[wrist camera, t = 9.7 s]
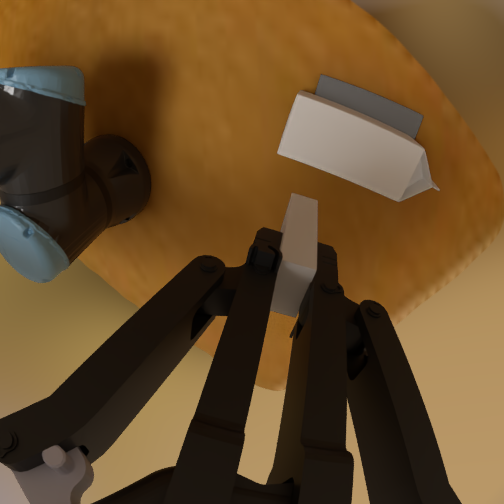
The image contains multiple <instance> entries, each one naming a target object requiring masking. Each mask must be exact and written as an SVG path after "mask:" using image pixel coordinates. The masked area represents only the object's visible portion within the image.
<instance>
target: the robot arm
mask: <svg viewBox="0 0 504 504" xmlns="http://www.w3.org/2000/svg"><path fill="white" fill-rule="evenodd" d="M85 106H86V102H85V100H84V75H83V73H82V71H81V70H80V69H79V68H77V67H75V66H29V67H12V68H0V201H1V204H0V253H1V254H2V255H3V257H4V258H5V260H6V261H7V262H8V263H9V264H10V265H11V266H12V267H13V268H14V269H15V270H16V271H17V272H19V273H20V274H21V275H23V276H24V277H26V278H27V279H29V280H32V281H34V282H38V283H46V282H49V281H51V280H53V279H54V278H55V277H56V276H57V275H58V274H60V273H61V272H62V271H63V270H65V269H67V268H68V267H69V265H70V264H71V263H72V262H73V261H74V260H75V259H76V258H77V257H78V256H79V255H80V254H81V253H82V252H83V251H84V250H85V249H86V248H87V247H88V246H89V245H90V244H91V243H92V242H93V241H94V240H95V239H96V238H97V237H98V236H99V235H100V234H101V233H102V232H103V231H104V230H105V229H107V228H110V227H113V226H116V225H119V224H122V223H125V222H128V221H129V220H131V219H133V218H134V217H135V216H136V215H137V214H138V213H139V212H140V211H141V210H142V209H143V208H144V207H145V205H146V204H147V202H148V199H149V196H150V190H151V179H150V174H149V170H148V167H147V164H146V162H145V160H144V158H143V157H142V155H141V154H140V152H139V151H138V150H137V149H136V148H135V147H134V146H133V145H132V144H131V143H130V142H128V141H127V140H125V139H123V138H121V137H119V136H115V135H101V136H98V137H96V138H94V139H91V140H89V141H87V142H86V143H85V144H84V110H85ZM317 230H318V200H315V199H311V198H308V197H305V196H301V195H298V194H295V193H292V194H291V198H290V201H289V204H288V208H287V211H286V214H285V217H284V221H283V224H282V227H281V230H280V232H278V231H275V230H271V229H268V228H265V227H263V228H261V229H260V230H259V231H257V234H256V237H255V240H254V243H253V244H252V245H251V246H250V248H249V252H248V256H247V260H246V263H245V264H244V265H242V266H240V267H225V264H224V263H223V262H222V261H221V260H220V259H218V258H217V257H214V256H209V255H203V256H198V257H197V258H195V259H194V260H192V261H191V262H190V263H189V264H188V265H187V266H186V267H185V268H184V269H182V270H181V271H180V272H179V273H178V274H177V275H176V276H175V277H174V278H173V279H172V280H170V281H169V282H168V283H167V284H166V285H165V286H164V287H163V288H162V289H161V290H160V291H158V292H157V293H156V294H155V295H154V296H153V297H152V298H151V299H150V300H149V301H148V302H147V303H146V304H144V305H143V306H142V307H141V308H140V309H139V310H138V311H137V312H136V313H135V314H134V315H133V316H132V317H131V318H130V319H128V321H126V322H125V323H124V324H123V325H122V326H121V327H120V328H119V329H118V330H117V331H116V332H115V333H114V334H113V335H112V336H111V337H110V338H109V339H107V340H106V341H105V342H104V343H103V344H102V345H101V346H100V347H99V348H98V349H97V350H96V351H95V352H94V353H93V354H92V355H91V356H90V357H89V358H88V359H87V360H86V361H85V362H84V363H83V364H82V365H81V366H80V367H79V368H78V369H77V370H76V371H75V372H74V373H73V374H72V375H71V376H70V377H69V378H68V379H67V380H66V381H65V382H64V383H63V384H62V385H61V386H60V387H59V388H58V389H57V390H56V391H55V392H54V393H53V394H52V395H51V396H49V397H47V398H45V399H43V400H41V401H39V402H36V403H34V404H32V405H30V406H28V407H26V408H23V409H21V410H19V411H17V412H15V413H12V414H10V415H8V416H6V417H4V418H1V419H0V462H1V463H3V464H4V465H5V466H7V467H8V468H10V469H11V470H12V471H13V473H14V475H15V477H16V479H17V481H18V483H19V484H20V486H21V488H22V490H23V492H24V494H25V496H26V497H27V499H28V501H29V502H30V504H80V500H81V497H82V494H83V493H84V492H85V491H86V490H87V489H88V487H90V486H91V484H92V482H93V478H94V472H93V468H92V466H91V463H93V462H94V461H96V460H97V459H98V458H99V457H101V456H102V455H103V454H104V453H105V452H106V451H107V450H108V449H109V448H110V447H111V446H112V444H113V443H114V442H115V441H116V440H117V438H118V437H119V436H120V435H121V434H122V432H123V431H124V430H125V429H126V427H127V426H128V425H129V424H130V423H131V421H132V420H133V419H134V418H135V417H136V415H137V414H138V413H139V412H140V410H141V409H142V408H143V407H144V406H145V404H146V403H147V402H148V401H149V399H150V398H151V397H152V396H153V395H154V393H155V392H156V391H157V389H158V388H159V387H160V386H161V385H162V383H163V382H164V381H165V379H166V378H167V377H168V376H169V375H170V373H171V372H172V371H173V370H174V368H175V367H176V366H177V365H178V364H179V362H180V361H181V360H182V358H183V357H184V356H185V355H186V354H187V352H188V351H189V350H190V349H191V347H192V346H193V345H194V344H195V342H196V341H197V340H198V339H199V337H200V336H201V335H202V334H203V332H204V331H205V330H206V329H207V327H208V326H209V325H210V324H211V322H212V321H213V320H214V319H215V316H228V317H227V320H226V323H225V326H224V329H223V332H222V335H221V337H220V340H219V343H218V346H217V349H216V352H215V355H214V358H213V361H212V364H211V367H210V370H209V373H208V376H207V379H206V382H205V385H204V388H203V391H202V394H201V397H200V400H199V403H198V406H197V409H196V412H195V415H194V417H193V419H192V420H191V423H190V426H189V428H188V431H187V434H186V437H185V440H184V443H183V446H182V449H181V452H180V455H179V458H178V460H177V463H176V466H173V467H168V468H164V469H161V470H158V471H155V472H153V473H151V474H149V475H148V476H146V477H144V478H142V479H140V480H138V481H136V482H135V483H133V484H131V485H129V486H127V487H125V488H123V489H121V490H119V491H117V492H115V493H113V494H111V495H109V496H107V497H105V498H103V499H101V500H98V501H96V502H94V503H92V504H351V501H352V487H353V470H354V459H353V456H352V454H351V453H350V452H349V451H347V450H346V419H347V417H346V416H347V400H348V403H349V408H350V412H351V416H352V420H353V425H354V429H355V434H356V438H357V443H358V447H359V452H360V456H361V461H362V466H363V471H364V476H365V481H366V486H367V490H368V496H369V501H370V504H462V503H461V502H460V500H459V499H458V497H457V495H456V494H455V492H454V491H453V489H452V488H451V486H450V484H449V482H448V478H447V475H446V471H445V467H444V464H443V460H442V457H441V454H440V450H439V447H438V444H437V441H436V438H435V434H434V431H433V428H432V425H431V422H430V419H429V416H428V414H427V411H426V408H425V405H424V402H423V399H422V397H421V394H420V391H419V389H418V386H417V384H416V381H415V378H414V375H413V373H412V370H411V368H410V365H409V363H408V360H407V358H406V355H405V353H404V350H403V348H402V346H401V343H400V341H399V339H398V337H397V334H396V331H395V329H394V327H393V324H392V322H391V320H390V318H389V315H388V313H387V311H386V310H385V308H384V307H383V306H382V305H380V304H379V303H377V302H375V301H372V300H364V301H362V302H361V303H360V305H359V304H357V303H355V302H353V301H351V300H349V299H348V298H347V297H345V296H344V290H343V288H342V286H341V285H340V284H339V283H338V268H337V253H336V252H335V250H334V249H333V247H332V246H329V245H325V244H322V243H319V242H317ZM270 311H274V312H277V313H281V314H284V315H288V316H292V317H296V316H297V314H298V311H299V317H298V319H297V322H296V324H295V326H294V328H293V330H292V332H291V334H290V338H292V336H293V342H292V350H291V357H290V364H289V372H288V379H287V385H286V393H285V399H284V405H283V412H282V418H281V424H280V430H279V436H278V442H277V448H276V453H275V459H274V464H273V468H272V470H271V473H270V475H269V477H268V480H267V483H266V485H262V484H259V483H256V482H254V481H252V480H250V479H248V478H245V477H243V476H241V475H239V474H237V470H238V466H239V462H240V457H241V453H242V449H243V444H244V439H245V433H244V428H245V424H246V420H247V416H248V411H249V407H250V402H251V398H252V393H253V389H254V384H255V380H256V375H257V370H258V366H259V361H260V356H261V352H262V347H263V342H264V337H265V333H266V328H267V323H268V318H269V313H270Z"/></svg>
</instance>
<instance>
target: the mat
mask: <svg viewBox="0 0 504 504" xmlns="http://www.w3.org/2000/svg"><path fill="white" fill-rule="evenodd" d="M315 95H317V96H320V97H322V98H325V99H328V100H330V101H333V102H335V103H338V104H340V105H343V106H345V107H348V108H350V109H353V110H355V111H358V112H360V113H362V114H364V115H367V116H369V117H371V118H374V119H376V120H378V121H380V122H382V123H384V124H387V125H389V126H391V127H393V128H395V129H397V130H399V131H401V132H403V133H405V134H407V135H409V136H410V137H411V138H413V139H414V140H415V137H416V134H417V132H418V129H419V127H420V124H421V122H422V119H423V115H421V114H419V113H417V112H415V111H413V110H411V109H408V108H406V107H404V106H402V105H400V104H397V103H395V102H393V101H391V100H388V99H386V98H384V97H381V96H379V95H376V94H374V93H372V92H369V91H366V90H364V89H361V88H359V87H356V86H353V85H351V84H348V83H345V82H342V81H340V80H337V79H334V78H331V77H328V76H325V75H322V74H321V76H320V79H319V82H318V86H317V89H316V92H315Z"/></svg>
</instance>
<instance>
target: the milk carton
mask: <svg viewBox="0 0 504 504" xmlns="http://www.w3.org/2000/svg"><path fill="white" fill-rule="evenodd" d="M277 154H280V155H282V156H285V157H288V158H291V159H294V160H296V161H299V162H302V163H305V164H307V165H310V166H313V167H315V168H318V169H321V170H323V171H326V172H328V173H331V174H333V175H336V176H338V177H341V178H343V179H346V180H348V181H351V182H353V183H356V184H358V185H360V186H363V187H365V188H367V189H370V190H372V191H374V192H377V193H379V194H381V195H383V196H386V197H388V198H390V199H392V200H395V201H397V202H401V201H403V200H405V199H407V198H410V197H412V196H414V195H417V194H419V193H421V192H423V191H426V190H428V189H430V188H434V189H436V190H438V191H440V189H439V188H438V187H437V186H436V184H435V183H434V182H433V181H432V180H431V175H430V170H429V165H428V161H427V157H426V153H425V149H424V148H423V147H422V146H421V145H420V144H419V143H417V142H416V141H415V140H414V139H413V138H411V137H410V136H409V135H407V134H405V133H403V132H401V131H399V130H397V129H395V128H393V127H391V126H389V125H387V124H384V123H382V122H380V121H378V120H376V119H374V118H371V117H369V116H367V115H364V114H362V113H360V112H358V111H355V110H353V109H350V108H348V107H345V106H343V105H340V104H338V103H335V102H333V101H330V100H328V99H325V98H322V97H320V96H317V95H314V94H311V93H308V92H306V91H303V90H300V91H299V93H298V94H297V96H296V98H295V101H294V103H293V106H292V109H291V111H290V114H289V117H288V120H287V123H286V126H285V129H284V132H283V135H282V138H281V142H280V145H279V149H278V152H277Z"/></svg>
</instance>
